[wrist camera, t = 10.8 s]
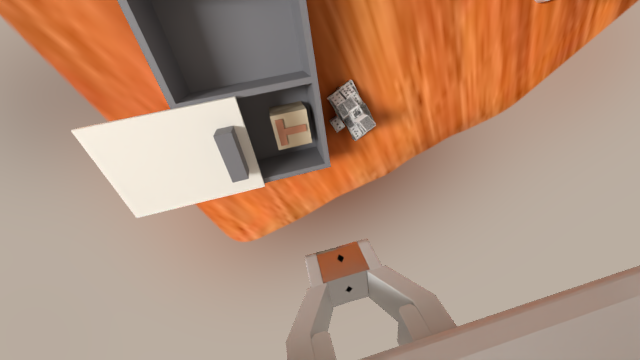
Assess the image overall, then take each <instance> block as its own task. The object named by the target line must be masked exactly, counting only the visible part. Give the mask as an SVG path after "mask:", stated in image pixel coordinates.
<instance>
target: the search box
mask: <svg viewBox="0 0 640 360" xmlns="http://www.w3.org/2000/svg"><path fill="white" fill-rule="evenodd" d="M117 1H118V3H119V5H120V7H121V9H122V11H123V13H124V15H125V17H126V19H127V21H128V23H129V25H130V27H131V29H132V31H133V33H134V35H135V37H136V39H137V41H138V43H139V45H140V48H141V50H142V52H143V54H144V56H145V58H146V60H147V62H148V64H149V66H150V68H151V70H152V72H153V74H154V76H155V78H156V80H157V82H158V84H159V86H160V88H161V90H162V92H163V94H164V96H165V99H166V101H167V103H168V105H169V107H170V109H174V108H179V107H184V106H189V105H194V104H199V103H203V102H208V101H213V100H218V99H223V98H228V97H233V96H235V97H236V100H237V103H238V106H239V109H240V112H241V115H242V118H243V121H244V124H245V127H246V130H247V133H248V136H249V139H250V142H251V145H252V148H253V151H254V154H255V157H256V160H257V163H258V166H259V169H260V171H261V174H262V177H263V180H264V183H266V182H271V181H275V180H279V179H283V178H287V177H291V176H295V175H299V174H303V173H307V172H311V171H315V170H320V169H324V168H328V167H331V165H330V159H329V152H328V145H327V138H326V132H325V125H324V118H323V111H322V105H321V98H320V91H319V84H318V78H317V71H316V64H315V57H314V51H313V44H312V37H311V30H310V24H309V17H308V10H307V3H306V0H117ZM298 101H301V102H302V104H303V105H304V107H305V108H306V111H307V117H308V122H309V128H310V133H311V138H312V143H308V144H304V145H299V146H295V147H291V148H286V149H282V150H279V149H278V145H277V141H276V138H275V134H274V130H273V126H272V123H271V119H270V114H269V108H270V107H274V106H279V105H284V104H289V103H293V102H298Z"/></svg>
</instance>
